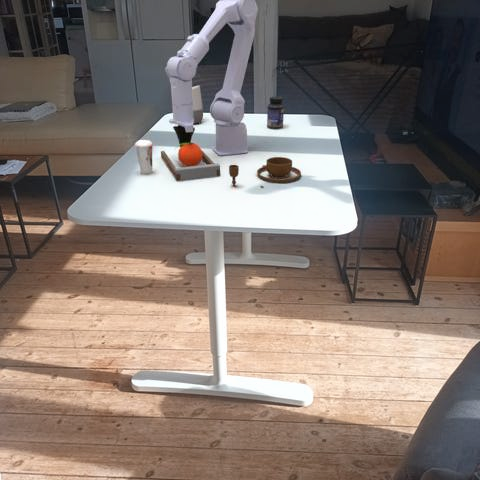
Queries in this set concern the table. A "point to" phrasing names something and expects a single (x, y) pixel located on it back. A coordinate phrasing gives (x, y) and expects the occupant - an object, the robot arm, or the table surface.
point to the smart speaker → (197, 105)
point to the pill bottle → (275, 113)
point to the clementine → (190, 154)
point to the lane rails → (172, 167)
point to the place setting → (271, 170)
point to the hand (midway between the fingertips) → (185, 151)
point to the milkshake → (144, 155)
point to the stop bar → (197, 172)
